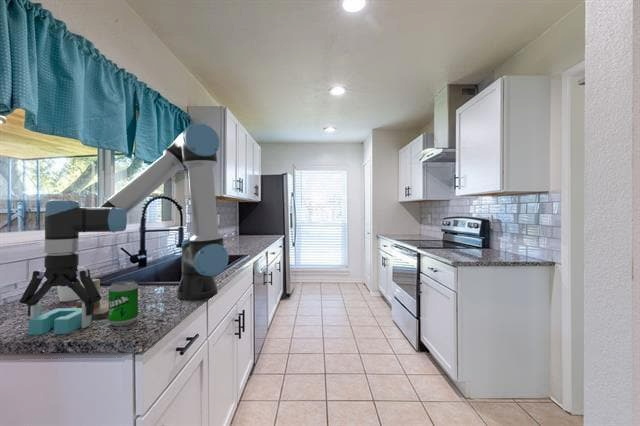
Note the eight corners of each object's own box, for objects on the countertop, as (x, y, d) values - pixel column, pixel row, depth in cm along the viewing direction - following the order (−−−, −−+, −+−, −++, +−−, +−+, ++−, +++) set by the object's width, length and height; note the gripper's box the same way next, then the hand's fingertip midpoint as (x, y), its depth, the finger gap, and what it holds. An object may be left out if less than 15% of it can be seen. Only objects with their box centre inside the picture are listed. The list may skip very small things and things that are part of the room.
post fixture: (126, 304, 110) (126, 275, 110) (102, 318, 96) (102, 285, 96) (85, 305, 109) (85, 276, 109) (54, 319, 95) (55, 285, 95)
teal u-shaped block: (56, 321, 93) (56, 308, 93) (91, 320, 94) (91, 307, 94) (28, 334, 83) (28, 320, 83) (67, 333, 84) (67, 319, 84)
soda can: (126, 317, 98) (126, 279, 98) (143, 320, 95) (143, 281, 95) (102, 325, 91) (102, 284, 91) (120, 328, 88) (120, 286, 88)
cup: (54, 298, 118) (55, 267, 118) (84, 294, 124) (84, 264, 124) (55, 304, 111) (55, 271, 111) (86, 299, 117) (86, 268, 117)
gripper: (115, 251, 94) (114, 321, 94) (26, 251, 91) (25, 323, 91) (99, 255, 86) (98, 330, 86) (2, 255, 84) (1, 332, 84)
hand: (61, 327), depth 89 cm, fingers open, 13 cm apart
